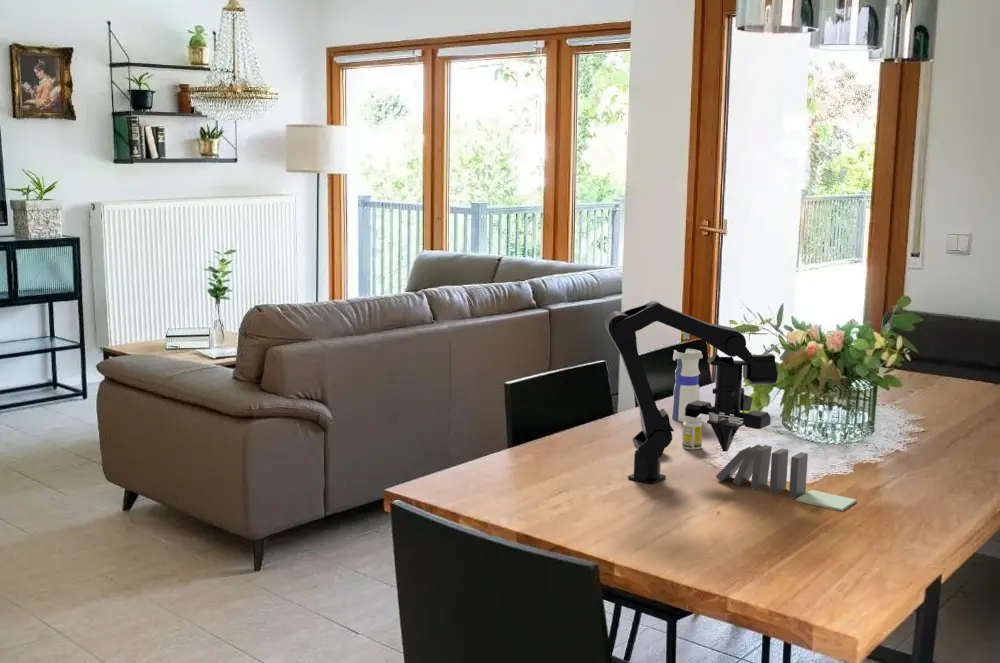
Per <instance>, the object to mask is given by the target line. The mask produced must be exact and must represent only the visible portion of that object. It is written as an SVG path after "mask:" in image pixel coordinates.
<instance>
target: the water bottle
mask: <svg viewBox="0 0 1000 663" xmlns="http://www.w3.org/2000/svg"><path fill="white" fill-rule="evenodd" d="M680 334H681V335H682V340H685V339H687V340H690V339H691V338H690V334H688V333H685V332H683V331H681V332H680ZM703 357H704V356H703V354H702V351H701V350H698V349H694V348H686V349H685V352H679V351H678V350H676V349H674V350H673V356H672V361H676V363H677V365H676V369H675V371H674V373H675V374H674V379H675V383H674V387H673V400H672V411H671V412H672V413H671V419H672V420H674V421H676V422H682V423H684V422H685V407H686V405H687V404H689V403H691V402H694V401H697V400H698V401H700V385H699V377H700V376H699V375H701V372H700V370H699V362H700V359H703Z"/></svg>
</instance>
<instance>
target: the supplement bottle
mask: <svg viewBox="0 0 1000 663" xmlns="http://www.w3.org/2000/svg"><path fill="white" fill-rule="evenodd" d="M701 421H702V414H700V415H699V416H698V417H696V418H694V417H689V416H685V422H682V448H683V449H686V450H691V451H692V450H694V451H695V450H699V449H701V448H702V442H703V441H702V440H703V438H702V437H703V423H702V422H701Z"/></svg>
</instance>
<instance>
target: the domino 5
mask: <svg viewBox="0 0 1000 663" xmlns="http://www.w3.org/2000/svg"><path fill="white" fill-rule="evenodd" d="M808 456H809V453H807V452H803V451H801V452H798V453H796V454H795V455H792V456H791V458H790V474H789V490H788V491H789V492H788V498H791V499H795V500H796V499H797V498H799V497H800V496H802V495H804V494H805V493H807V492H806V488H807V474H808V461H809V460H808Z"/></svg>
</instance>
